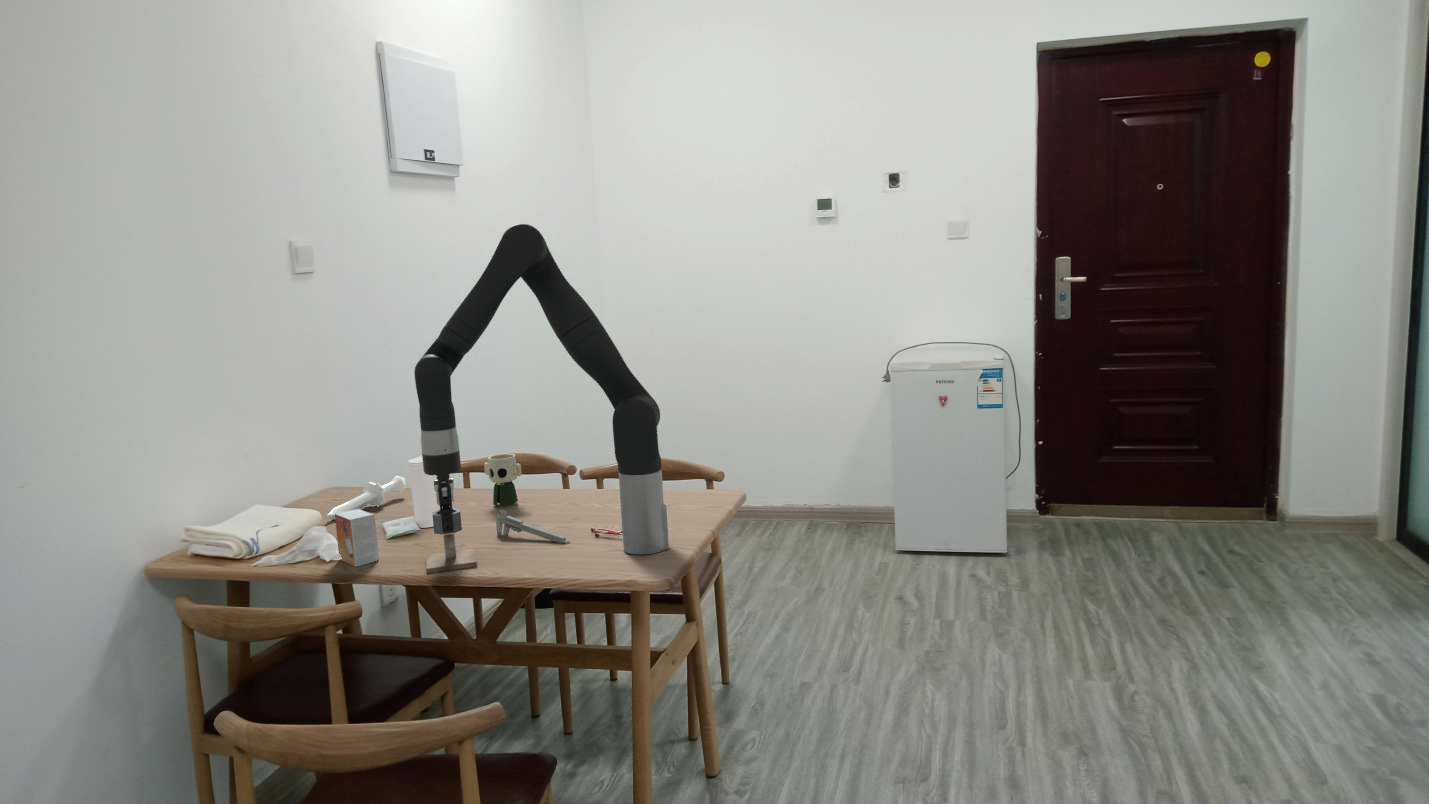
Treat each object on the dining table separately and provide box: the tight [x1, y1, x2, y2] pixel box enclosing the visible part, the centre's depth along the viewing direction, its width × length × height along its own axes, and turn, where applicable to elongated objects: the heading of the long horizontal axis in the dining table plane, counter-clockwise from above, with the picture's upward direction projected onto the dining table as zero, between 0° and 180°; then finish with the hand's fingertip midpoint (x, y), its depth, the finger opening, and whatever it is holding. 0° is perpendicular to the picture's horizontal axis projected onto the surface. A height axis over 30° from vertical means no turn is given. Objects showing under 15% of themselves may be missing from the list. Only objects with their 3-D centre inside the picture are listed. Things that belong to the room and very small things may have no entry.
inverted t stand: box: [425, 533, 478, 574], centre depth 198 cm, size 10×10×6 cm
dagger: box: [326, 475, 407, 520], centre depth 247 cm, size 8×6×28 cm
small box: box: [334, 509, 380, 568], centre depth 203 cm, size 8×6×10 cm
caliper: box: [495, 509, 571, 545], centre depth 213 cm, size 20×1×6 cm, turn 62°
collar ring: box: [431, 507, 463, 536], centre depth 197 cm, size 6×6×4 cm
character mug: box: [483, 453, 523, 507], centre depth 243 cm, size 11×7×13 cm, turn 70°
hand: (448, 527), depth 197 cm, fingers closed on collar ring, 5 cm apart
